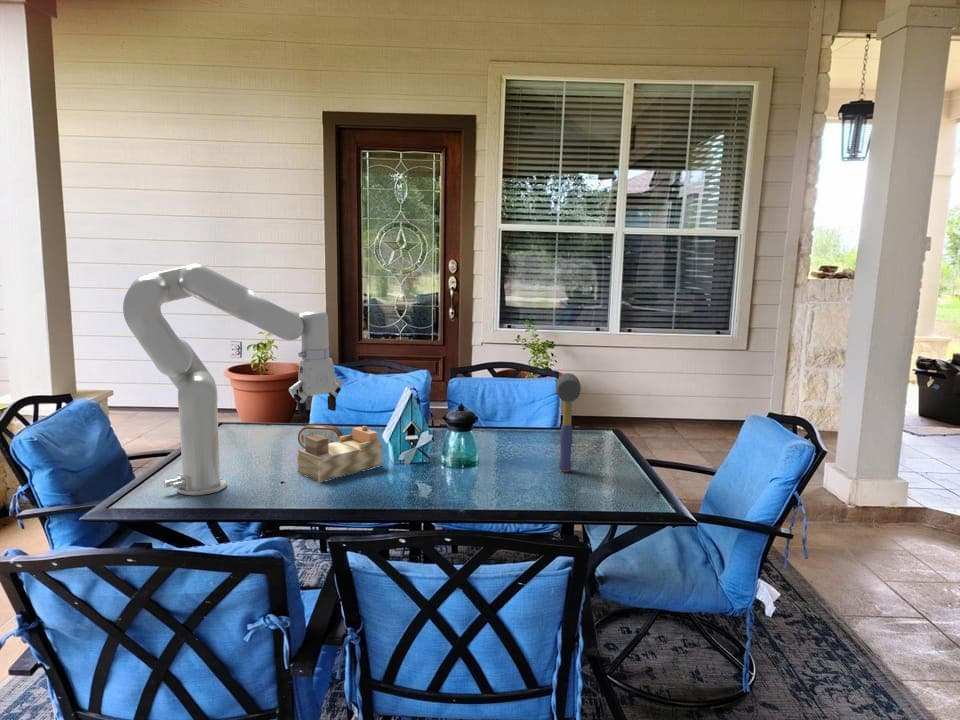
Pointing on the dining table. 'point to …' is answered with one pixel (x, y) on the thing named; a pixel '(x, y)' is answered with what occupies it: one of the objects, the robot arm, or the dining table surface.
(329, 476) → the toolbox
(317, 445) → the lid
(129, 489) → the dining table surface
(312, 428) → the tin
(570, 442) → the rubber mallet
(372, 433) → the peach boxy piece
